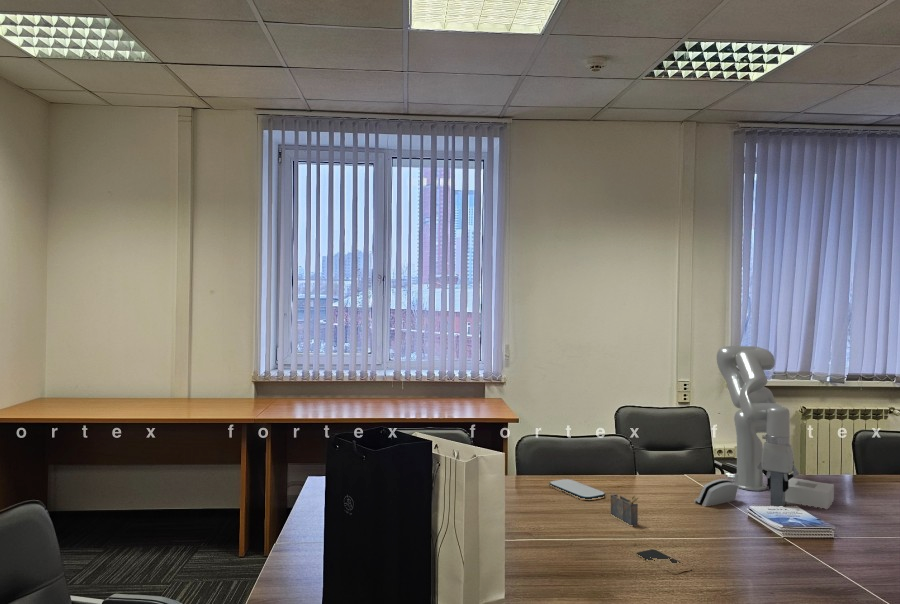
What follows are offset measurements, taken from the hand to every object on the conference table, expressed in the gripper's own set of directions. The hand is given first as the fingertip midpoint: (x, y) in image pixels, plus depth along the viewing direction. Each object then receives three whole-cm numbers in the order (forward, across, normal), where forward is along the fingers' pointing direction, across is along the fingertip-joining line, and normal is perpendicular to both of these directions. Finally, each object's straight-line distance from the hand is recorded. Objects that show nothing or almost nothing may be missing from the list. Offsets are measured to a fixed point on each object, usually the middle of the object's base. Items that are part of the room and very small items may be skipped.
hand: (777, 489), depth 224 cm
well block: (+6, +7, +13) cm, 16 cm away
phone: (+6, -13, -79) cm, 80 cm away
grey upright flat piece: (+6, -36, -54) cm, 65 cm away
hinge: (+6, -18, -13) cm, 23 cm away
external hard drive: (+6, -64, -35) cm, 73 cm away
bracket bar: (+6, 0, 0) cm, 6 cm away
